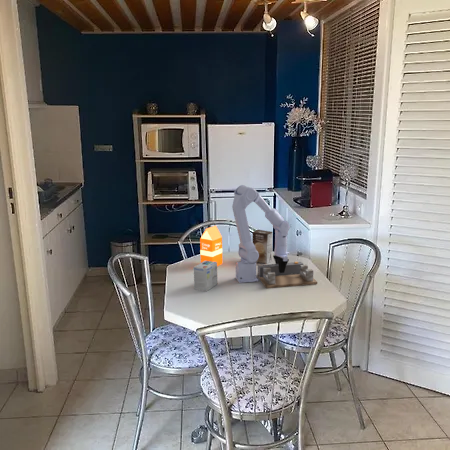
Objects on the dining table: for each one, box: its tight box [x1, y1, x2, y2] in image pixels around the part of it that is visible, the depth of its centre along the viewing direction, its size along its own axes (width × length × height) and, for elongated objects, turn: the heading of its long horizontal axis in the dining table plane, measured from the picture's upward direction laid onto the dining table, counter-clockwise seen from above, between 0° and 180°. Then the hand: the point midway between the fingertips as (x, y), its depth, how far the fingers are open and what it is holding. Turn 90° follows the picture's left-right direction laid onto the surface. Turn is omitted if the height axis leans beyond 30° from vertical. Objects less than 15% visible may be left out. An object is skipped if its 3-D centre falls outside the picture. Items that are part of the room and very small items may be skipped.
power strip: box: [257, 261, 304, 277], centre depth 229 cm, size 22×4×6 cm, turn 104°
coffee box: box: [251, 229, 273, 265], centre depth 248 cm, size 9×6×16 cm
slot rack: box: [258, 264, 318, 289], centre depth 218 cm, size 24×12×6 cm, turn 101°
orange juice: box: [199, 225, 223, 267], centre depth 243 cm, size 8×9×20 cm
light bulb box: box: [193, 261, 218, 292], centre depth 212 cm, size 11×7×11 cm, turn 154°
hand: (280, 271), depth 229 cm, fingers closed on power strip, 4 cm apart
